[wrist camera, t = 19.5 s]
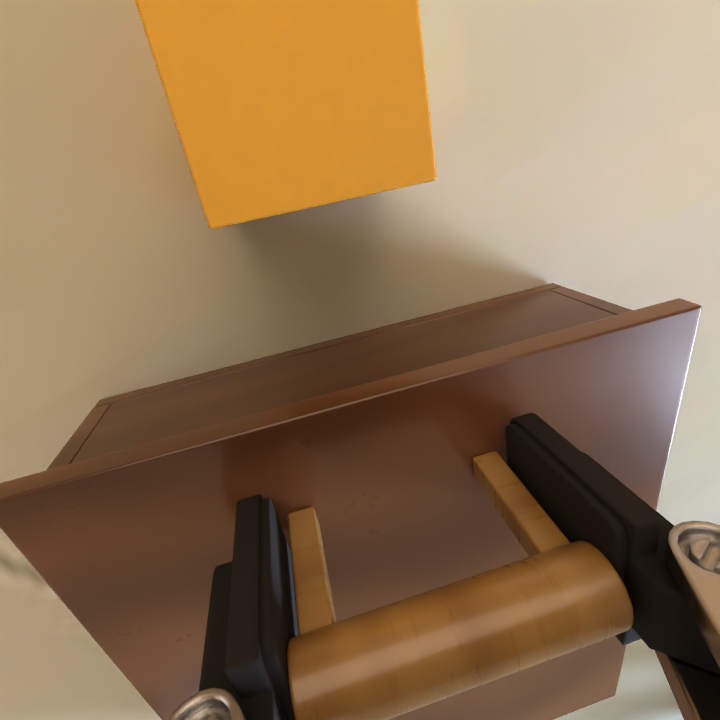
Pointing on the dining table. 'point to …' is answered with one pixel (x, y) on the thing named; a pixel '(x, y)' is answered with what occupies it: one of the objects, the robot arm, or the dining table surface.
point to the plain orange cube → (293, 99)
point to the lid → (380, 531)
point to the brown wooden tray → (326, 368)
